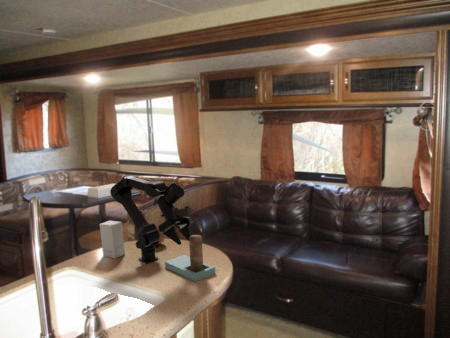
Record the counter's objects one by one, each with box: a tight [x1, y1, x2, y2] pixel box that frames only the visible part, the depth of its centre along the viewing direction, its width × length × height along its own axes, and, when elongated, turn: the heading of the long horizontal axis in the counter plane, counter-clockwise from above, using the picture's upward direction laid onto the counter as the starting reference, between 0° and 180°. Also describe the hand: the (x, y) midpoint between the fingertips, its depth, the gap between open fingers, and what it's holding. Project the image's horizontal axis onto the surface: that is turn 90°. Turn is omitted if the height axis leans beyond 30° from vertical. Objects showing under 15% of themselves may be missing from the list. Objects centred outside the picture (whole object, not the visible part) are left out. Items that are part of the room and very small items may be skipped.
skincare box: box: [99, 220, 126, 260], centre depth 163 cm, size 8×7×16 cm
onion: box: [155, 224, 166, 246], centre depth 176 cm, size 10×9×10 cm
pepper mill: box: [188, 234, 204, 273], centre depth 140 cm, size 5×5×15 cm
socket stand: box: [164, 254, 216, 283], centre depth 144 cm, size 20×10×2 cm, turn 44°
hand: (185, 242), depth 142 cm, fingers open, 9 cm apart
